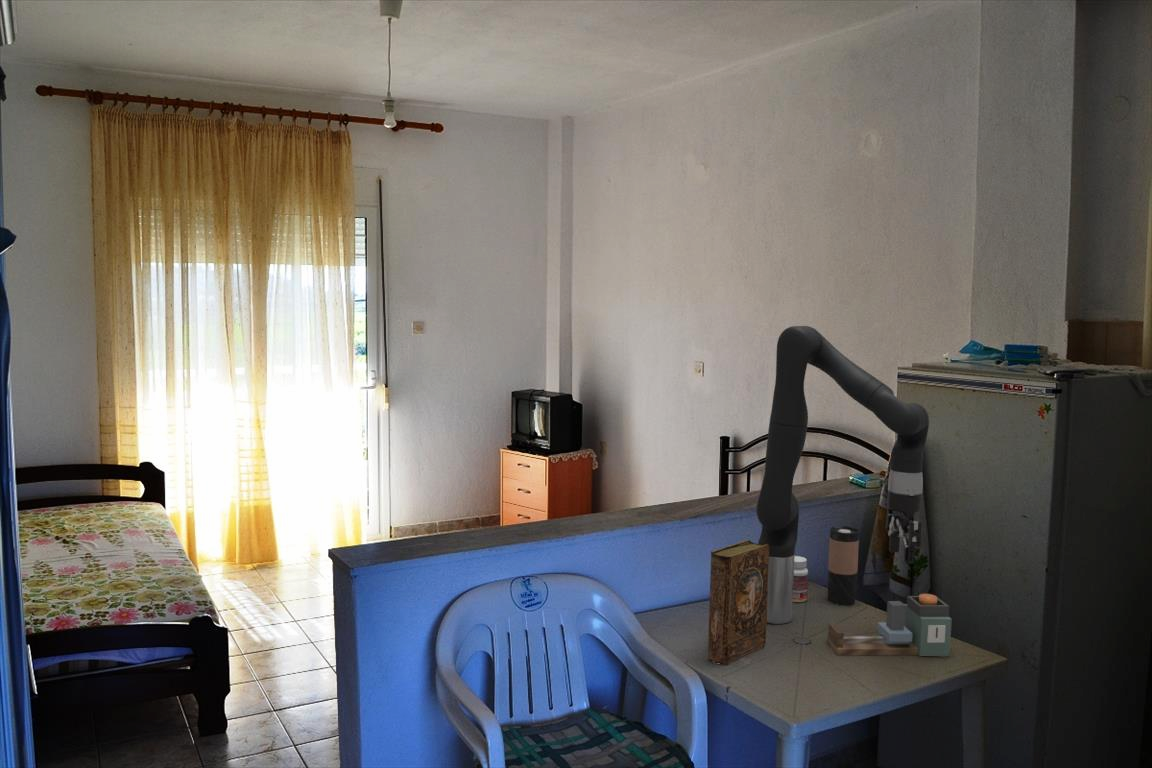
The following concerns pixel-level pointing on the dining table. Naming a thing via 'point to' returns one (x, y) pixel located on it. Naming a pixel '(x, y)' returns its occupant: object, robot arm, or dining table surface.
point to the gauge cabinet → (929, 626)
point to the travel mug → (843, 565)
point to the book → (738, 601)
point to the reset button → (927, 599)
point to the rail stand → (865, 644)
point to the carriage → (895, 625)
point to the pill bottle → (800, 579)
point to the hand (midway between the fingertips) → (901, 557)
